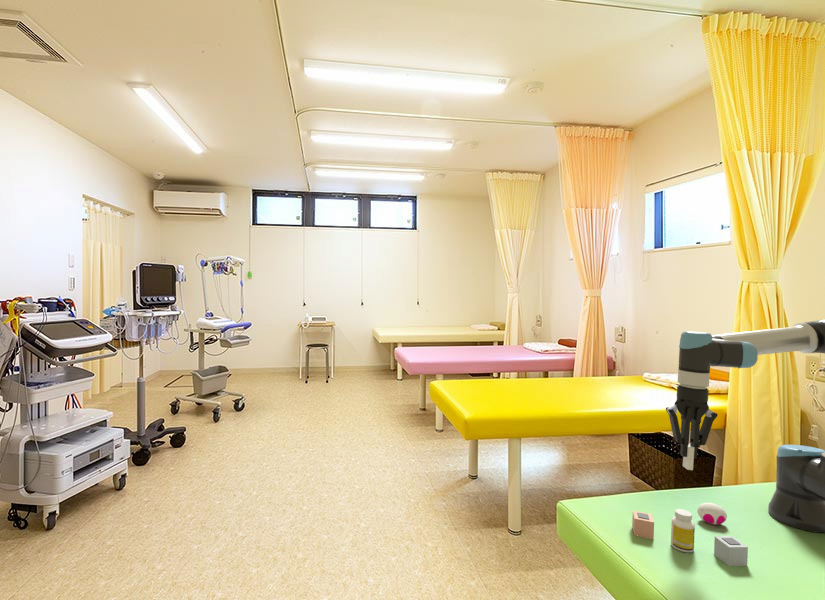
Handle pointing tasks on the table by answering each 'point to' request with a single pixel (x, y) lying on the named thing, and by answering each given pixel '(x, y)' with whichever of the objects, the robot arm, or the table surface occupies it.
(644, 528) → the terracotta block
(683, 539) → the supplement bottle
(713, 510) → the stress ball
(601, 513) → the table surface
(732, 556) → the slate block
